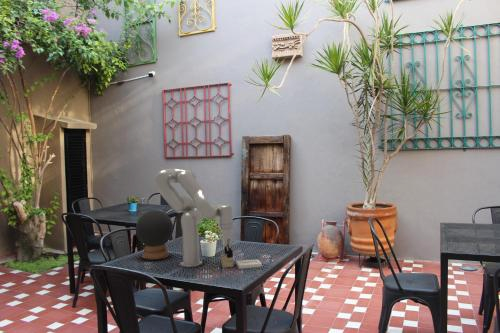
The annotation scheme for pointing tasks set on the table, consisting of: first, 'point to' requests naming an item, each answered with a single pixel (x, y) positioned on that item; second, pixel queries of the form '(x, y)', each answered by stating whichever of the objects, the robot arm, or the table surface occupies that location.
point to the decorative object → (154, 234)
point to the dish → (248, 264)
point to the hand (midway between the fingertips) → (228, 255)
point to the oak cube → (226, 261)
